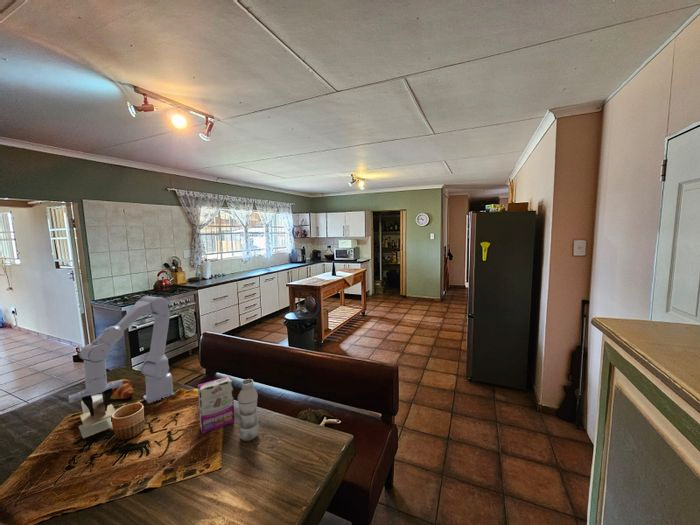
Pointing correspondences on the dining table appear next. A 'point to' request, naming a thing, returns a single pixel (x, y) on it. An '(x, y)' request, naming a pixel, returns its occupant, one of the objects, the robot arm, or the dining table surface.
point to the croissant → (122, 390)
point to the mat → (95, 427)
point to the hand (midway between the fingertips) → (98, 412)
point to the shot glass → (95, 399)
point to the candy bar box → (216, 404)
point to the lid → (97, 414)
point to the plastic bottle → (248, 411)
